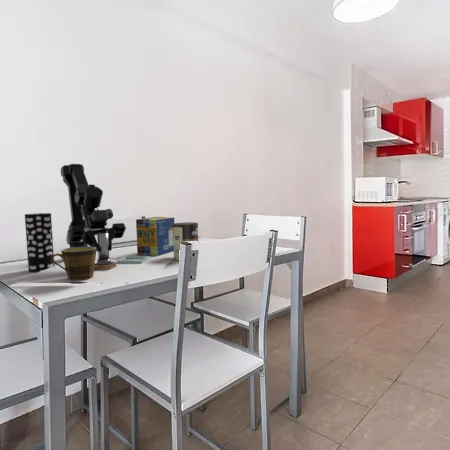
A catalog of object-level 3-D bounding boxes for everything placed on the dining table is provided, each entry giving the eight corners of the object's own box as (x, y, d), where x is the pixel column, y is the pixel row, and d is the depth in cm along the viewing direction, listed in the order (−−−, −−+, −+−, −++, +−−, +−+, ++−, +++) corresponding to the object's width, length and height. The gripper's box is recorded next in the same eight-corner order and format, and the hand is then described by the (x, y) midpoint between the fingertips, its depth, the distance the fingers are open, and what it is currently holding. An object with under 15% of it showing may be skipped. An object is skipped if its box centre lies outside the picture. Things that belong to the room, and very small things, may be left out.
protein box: (136, 255, 161) (135, 219, 160) (156, 249, 175) (155, 216, 174) (157, 256, 157) (156, 219, 156) (176, 250, 171) (174, 216, 170)
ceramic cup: (90, 275, 122) (88, 245, 121) (103, 281, 114) (101, 248, 113) (48, 283, 113) (46, 250, 112) (59, 288, 106) (56, 253, 105)
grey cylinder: (95, 269, 127) (94, 234, 126) (100, 266, 132) (99, 232, 131) (108, 269, 127) (106, 233, 126) (112, 266, 131) (111, 232, 130)
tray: (116, 266, 137) (116, 260, 137) (126, 261, 147) (125, 256, 147) (142, 265, 136) (141, 260, 136) (149, 261, 146) (149, 256, 146)
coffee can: (202, 256, 155) (201, 222, 154) (195, 260, 145) (194, 224, 143) (178, 255, 157) (177, 222, 156) (169, 260, 147) (168, 224, 146)
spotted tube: (28, 273, 128) (24, 215, 126) (28, 269, 135) (24, 214, 134) (55, 270, 132) (51, 213, 130) (53, 266, 139) (50, 212, 137)
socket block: (90, 272, 126) (90, 265, 126) (99, 268, 133) (98, 261, 133) (109, 272, 126) (109, 265, 126) (117, 268, 132) (116, 261, 132)
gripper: (69, 202, 125) (81, 238, 117) (122, 200, 136) (137, 233, 128) (63, 224, 131) (75, 259, 124) (115, 221, 143) (128, 253, 135)
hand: (105, 250), depth 128 cm, fingers closed on grey cylinder, 4 cm apart
